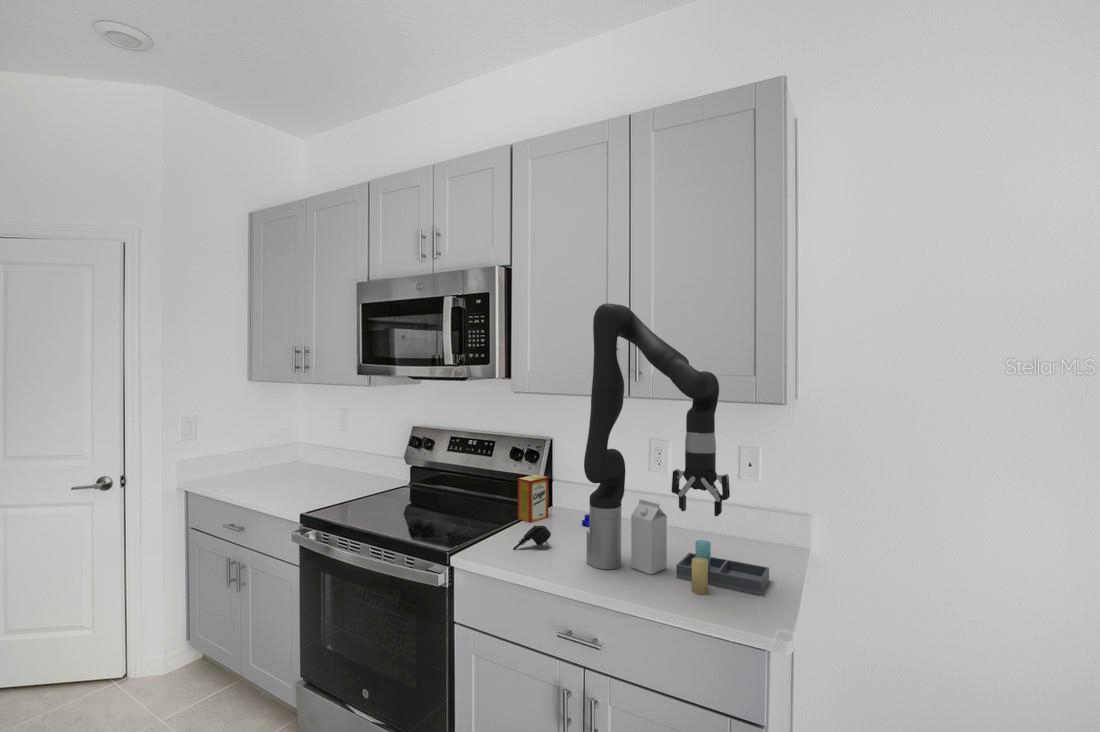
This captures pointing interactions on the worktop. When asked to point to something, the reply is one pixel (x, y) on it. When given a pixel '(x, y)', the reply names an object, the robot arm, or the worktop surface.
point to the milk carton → (648, 538)
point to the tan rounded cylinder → (699, 575)
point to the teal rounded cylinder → (703, 550)
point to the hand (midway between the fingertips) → (700, 513)
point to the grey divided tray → (729, 574)
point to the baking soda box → (532, 498)
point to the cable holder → (586, 521)
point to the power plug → (536, 536)
